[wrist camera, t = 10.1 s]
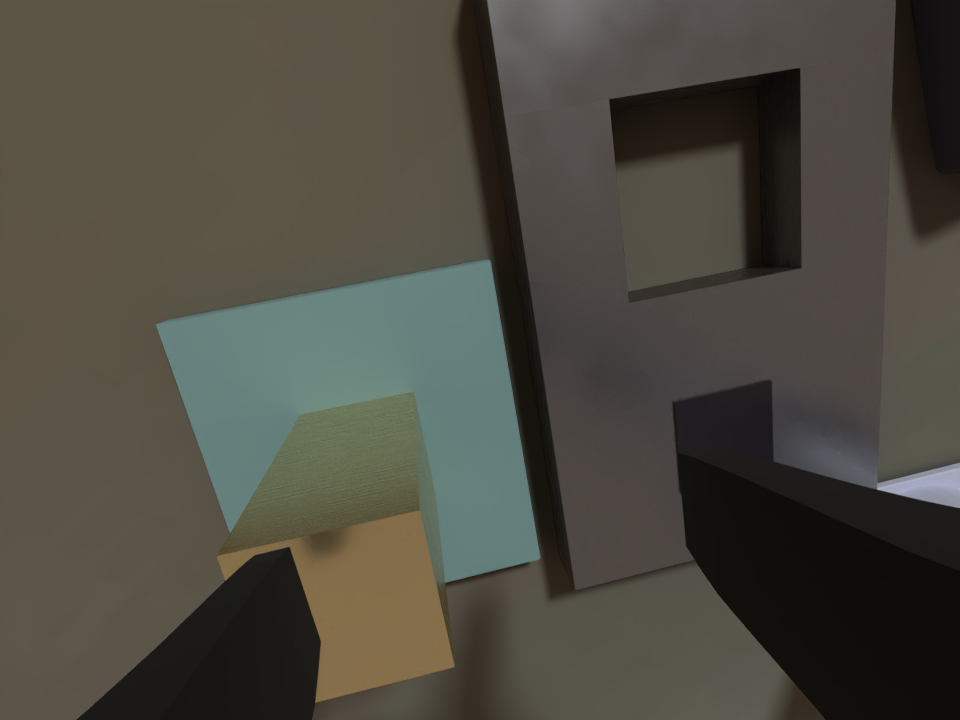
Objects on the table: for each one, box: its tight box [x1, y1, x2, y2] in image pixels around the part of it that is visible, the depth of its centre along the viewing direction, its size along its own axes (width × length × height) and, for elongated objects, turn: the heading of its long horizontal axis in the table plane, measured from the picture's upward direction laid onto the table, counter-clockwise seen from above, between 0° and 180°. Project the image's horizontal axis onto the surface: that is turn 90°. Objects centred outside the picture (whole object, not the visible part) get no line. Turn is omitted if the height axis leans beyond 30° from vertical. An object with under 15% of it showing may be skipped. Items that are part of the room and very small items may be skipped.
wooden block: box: [217, 391, 455, 703], centre depth 14 cm, size 4×4×8 cm
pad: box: [156, 259, 540, 583], centre depth 19 cm, size 12×11×1 cm
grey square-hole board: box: [473, 0, 896, 590], centre depth 18 cm, size 22×13×2 cm, turn 10°
